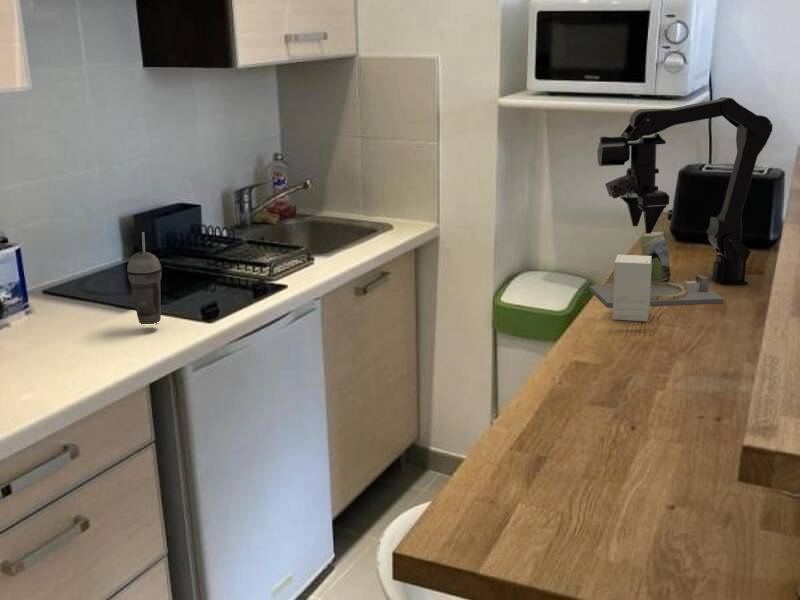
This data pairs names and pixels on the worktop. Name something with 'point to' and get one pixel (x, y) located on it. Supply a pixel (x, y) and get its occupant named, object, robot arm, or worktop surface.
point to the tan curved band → (682, 288)
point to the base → (691, 298)
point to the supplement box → (632, 287)
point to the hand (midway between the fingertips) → (641, 229)
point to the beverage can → (657, 254)
